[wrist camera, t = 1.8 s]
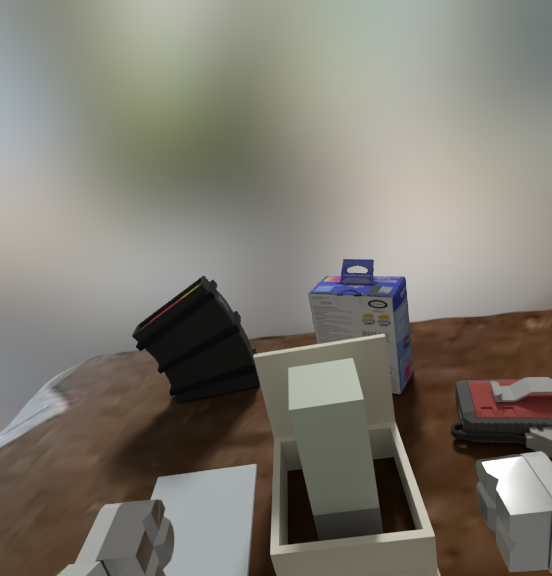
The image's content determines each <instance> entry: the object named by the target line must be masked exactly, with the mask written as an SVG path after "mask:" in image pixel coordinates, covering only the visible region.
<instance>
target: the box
mask: <svg viewBox="0 0 552 576" xmlns="http://www.w3.org/2000/svg"><path fill="white" fill-rule="evenodd" d="M288 379H289V413H290V417H291V422H292V426H293V430H294V435H295V439H296V443H297V448H298V452H299V456H300V461H301V465H302V469H303V474H304V478H305V482H306V487H307V491H308V495H309V500H310V504H311V508H312V513H313V517H314V521H315V526H316V530H317V534H318V539H319V541H325V540H334V539H342V538H351V537H360V536H368V535H377V534H383V527H382V521H381V514H380V507H379V500H378V493H377V486H376V479H375V472H374V465H373V459H372V452H371V445H370V438H369V431H368V424H367V417H366V410H365V403H364V398H363V394H362V390H361V387H360V383H359V379H358V375H357V372H356V368H355V364H354V360H353V358H349V359H342V360H336V361H329V362H323V363H317V364H310V365H304V366H297V367H291V368H288Z"/></svg>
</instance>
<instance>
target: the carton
mask: <svg viewBox="0 0 552 576" xmlns="http://www.w3.org/2000/svg"><path fill="white" fill-rule="evenodd" d="M253 358H254V362H255V366H256V370H257V373H258V377H259V381H260V385H261V389H262V393H263V397H264V401H265V405H266V409H267V413H268V417H269V421H270V424H271V428H272V432H273V436H274V459H273V488H272V517H271V546H270V556H271V559H272V563H273V566H274V569H275V573H276V576H440V573H439V570H438V567H437V556H436V543H435V535H434V532H433V529H432V526H431V523H430V521H429V518H428V515H427V512H426V509H425V506H424V503H423V500H422V498H421V495H420V492H419V489H418V486H417V483H416V480H415V477H414V474H413V472H412V469H411V466H410V463H409V460H408V457H407V454H406V451H405V449H404V446H403V443H402V440H401V437H400V434H399V431H398V428H397V426H396V423H395V415H394V406H393V398H392V389H391V380H390V371H389V362H388V353H387V344H386V336H385V334H378V335H372V336H366V337H360V338H353V339H347V340H341V341H335V342H328V343H322V344H316V345H310V346H303V347H297V348H291V349H285V350H278V351H272V352H266V353H260V354H254V357H253ZM349 358H353V360H354V364H355V368H356V372H357V375H358V379H359V383H360V387H361V390H362V394H363V398H364V403H365V410H366V417H367V424H368V431H369V438H370V445H371V452H372V459H373V460H374V459H382V458H389V457H394V460H395V463H396V466H397V470H398V473H399V476H400V479H401V483H402V486H403V489H404V492H405V496H406V499H407V502H408V505H409V509H410V512H411V515H412V518H413V522H414V525H415V528H416V530H411V531H403V532H394V533H385V534H377V535H368V536H360V537H351V538H342V539H334V540H325V541H317V542H308V543H299V544H291V545H288V476H287V471H291V470H299V469H302V465H301V461H300V456H299V452H298V448H297V443H296V439H295V435H294V430H293V426H292V422H291V417H290V413H289V379H288V368H291V367H297V366H304V365H310V364H317V363H323V362H329V361H336V360H342V359H349Z"/></svg>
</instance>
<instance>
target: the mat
mask: <svg viewBox="0 0 552 576" xmlns="http://www.w3.org/2000/svg"><path fill="white" fill-rule="evenodd" d="M256 476H257V464H252V465H245V466H237V467H230V468H223V469H215V470H208V471H200V472H193V473H186V474H178V475H171V476H163V477H158V480H157V482H156V485H155V488H154V491H153V494H152V497H151V500H156V499H159V500H162V502H163V504H164V506H165V508H166V509H165V512H164V517H166V518H167V519H169V520H170V521H171V523H172V526H173V530H174V536H175V538H174V551H173V555H172V559H171V561H170V562H169V563H168V565H167V566H166V567H165V568H164V569H163V571H164V573H165V575H166V576H249V565H250V553H251V540H252V527H253V515H254V502H255V489H256Z"/></svg>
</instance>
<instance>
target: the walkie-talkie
mask: <svg viewBox="0 0 552 576" xmlns="http://www.w3.org/2000/svg"><path fill="white" fill-rule="evenodd" d="M455 387H456V404H457V408H458V413H459V417H460V421H461V423H454V424H453V425H452V426H451V434H452V436H453V437H455V438H457V439H461V440H469V441H471V442H472V443H474V442H478V443H480V442H484V443H487V442H491V443H493V442H497V443H500V442H502V443H518V444H520V443H523V444H525V445H526V447H527V448H530V449H532V450H534V451H537V452H540V451H542V452H543V453H545V454H546V455H547V456H548V457H551V458H552V378H548V377H526V378H524V379H507V380H503V379H501V380H461V381H459V382H456V383H455ZM457 430H463V432H458V431H457Z"/></svg>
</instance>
